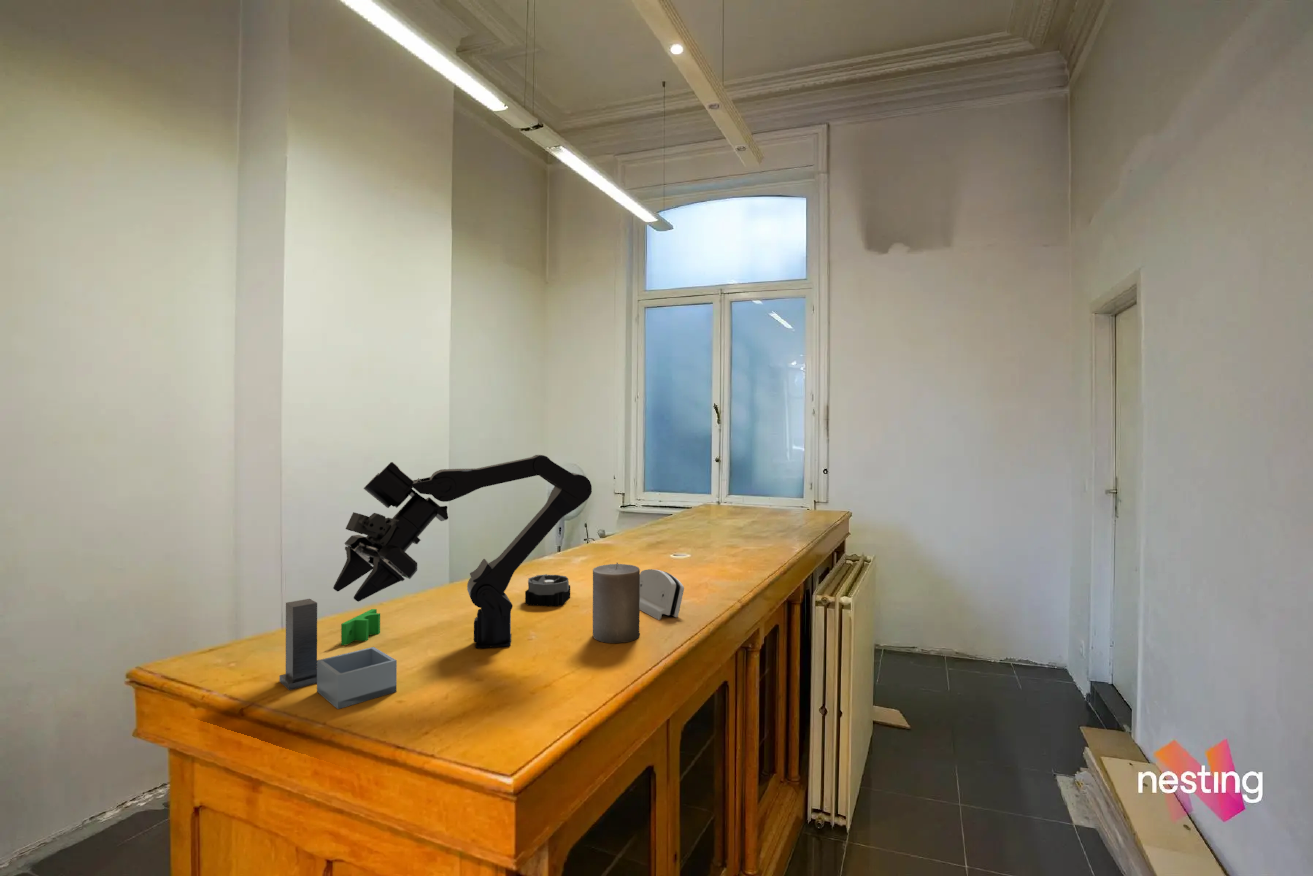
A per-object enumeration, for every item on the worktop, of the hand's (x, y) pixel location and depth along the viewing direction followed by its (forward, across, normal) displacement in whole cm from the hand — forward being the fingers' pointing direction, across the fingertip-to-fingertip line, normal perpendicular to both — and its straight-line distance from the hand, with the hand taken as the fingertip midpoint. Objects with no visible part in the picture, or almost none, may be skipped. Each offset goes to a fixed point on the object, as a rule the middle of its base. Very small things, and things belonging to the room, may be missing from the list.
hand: (345, 594), depth 108 cm
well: (+11, +11, +8) cm, 17 cm away
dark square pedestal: (+14, 0, +4) cm, 15 cm away
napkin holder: (-37, +12, +56) cm, 68 cm away
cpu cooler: (-27, -11, +46) cm, 54 cm away
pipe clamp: (+3, -16, +16) cm, 23 cm away
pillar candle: (-23, +20, +41) cm, 51 cm away
